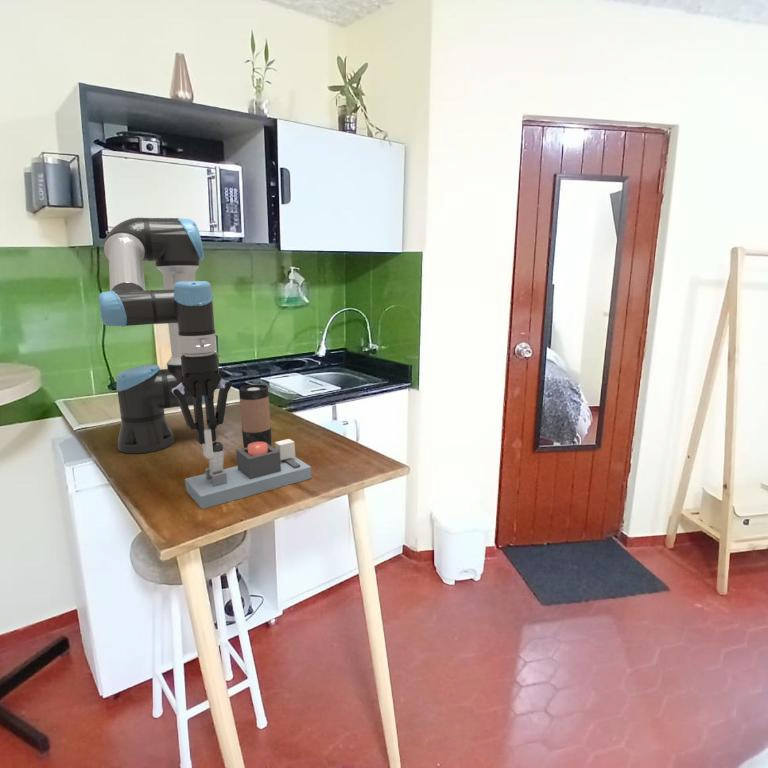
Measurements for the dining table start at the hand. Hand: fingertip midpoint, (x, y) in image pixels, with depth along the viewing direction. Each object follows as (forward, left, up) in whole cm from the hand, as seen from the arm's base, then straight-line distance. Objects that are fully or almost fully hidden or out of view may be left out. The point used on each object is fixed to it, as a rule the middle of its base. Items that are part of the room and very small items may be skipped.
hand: (208, 456), depth 117 cm
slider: (-2, +20, -6) cm, 21 cm away
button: (0, +12, -5) cm, 13 cm away
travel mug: (-15, +18, -10) cm, 25 cm away
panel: (0, +9, -10) cm, 13 cm away
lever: (0, +1, -5) cm, 5 cm away
